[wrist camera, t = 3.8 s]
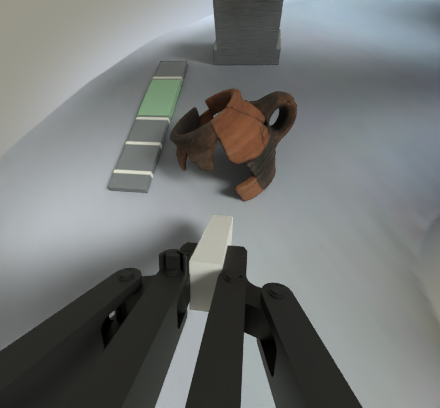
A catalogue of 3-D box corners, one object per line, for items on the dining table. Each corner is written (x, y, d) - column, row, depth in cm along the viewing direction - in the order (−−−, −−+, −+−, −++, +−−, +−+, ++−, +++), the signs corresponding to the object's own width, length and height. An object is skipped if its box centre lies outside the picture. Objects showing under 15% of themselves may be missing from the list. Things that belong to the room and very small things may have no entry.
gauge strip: (147, 192, 23) (145, 189, 22) (110, 190, 23) (106, 186, 23) (188, 65, 33) (187, 60, 32) (161, 65, 33) (160, 60, 33)
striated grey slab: (278, 64, 31) (289, -11, 24) (214, 64, 32) (207, -7, 25) (278, 44, 34) (288, -29, 27) (218, 46, 35) (213, -25, 28)
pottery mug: (224, 227, 21) (169, 160, 16) (199, 183, 29) (156, 129, 24) (331, 150, 20) (308, 57, 15) (276, 126, 28) (249, 59, 23)
